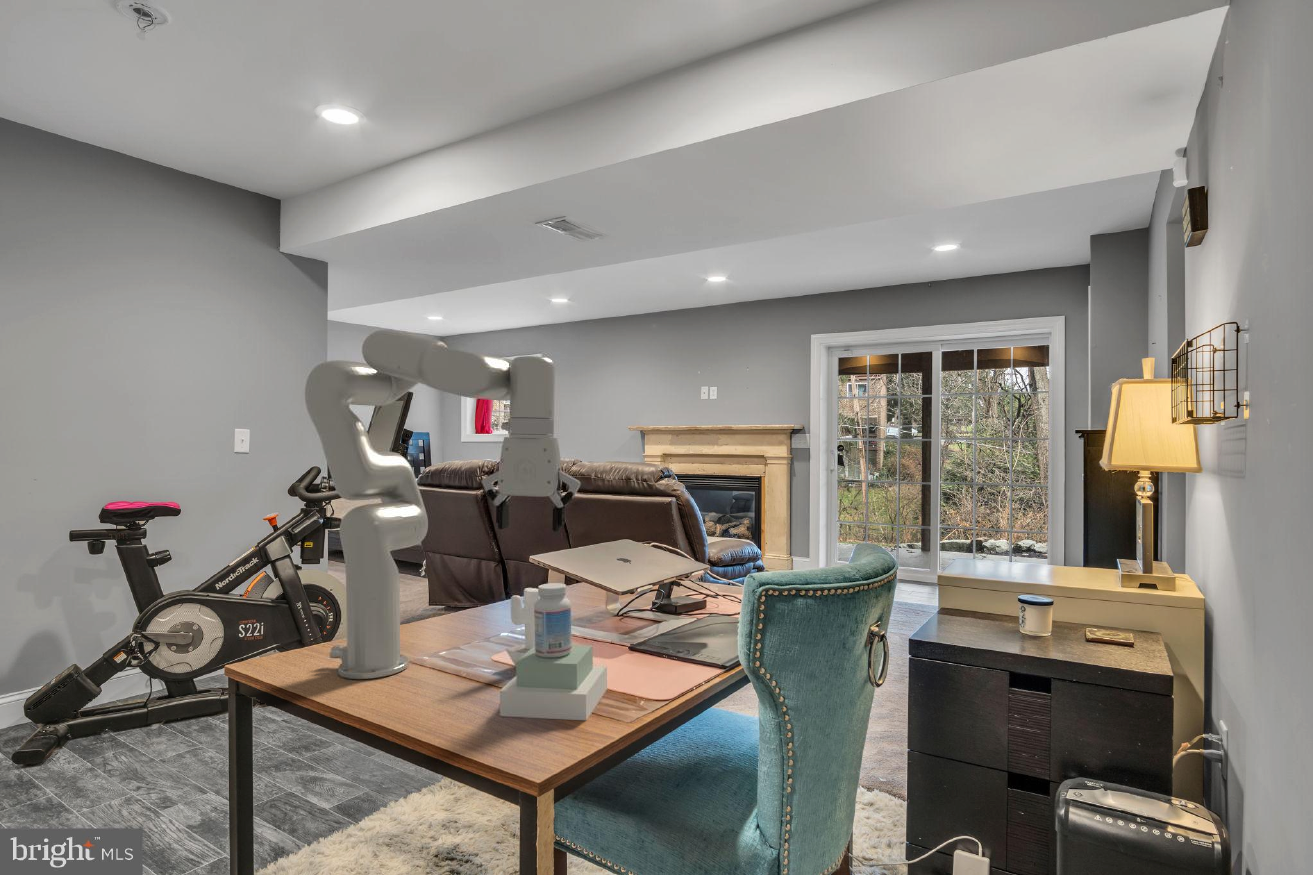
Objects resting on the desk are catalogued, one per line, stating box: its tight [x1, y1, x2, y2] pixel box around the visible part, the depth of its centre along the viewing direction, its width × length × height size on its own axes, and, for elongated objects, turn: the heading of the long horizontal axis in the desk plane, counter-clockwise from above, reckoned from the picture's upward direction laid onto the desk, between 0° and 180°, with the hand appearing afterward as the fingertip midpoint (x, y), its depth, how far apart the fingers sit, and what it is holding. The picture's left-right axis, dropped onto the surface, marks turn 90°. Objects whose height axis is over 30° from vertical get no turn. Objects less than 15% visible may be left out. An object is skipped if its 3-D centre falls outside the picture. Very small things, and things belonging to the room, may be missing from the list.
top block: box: [515, 644, 594, 689], centre depth 116 cm, size 10×10×4 cm
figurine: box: [505, 587, 540, 667], centre depth 135 cm, size 7×9×15 cm
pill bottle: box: [534, 582, 573, 658], centre depth 116 cm, size 6×6×11 cm
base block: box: [499, 664, 608, 721], centre depth 116 cm, size 14×14×4 cm
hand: (530, 529), depth 120 cm, fingers open, 9 cm apart
